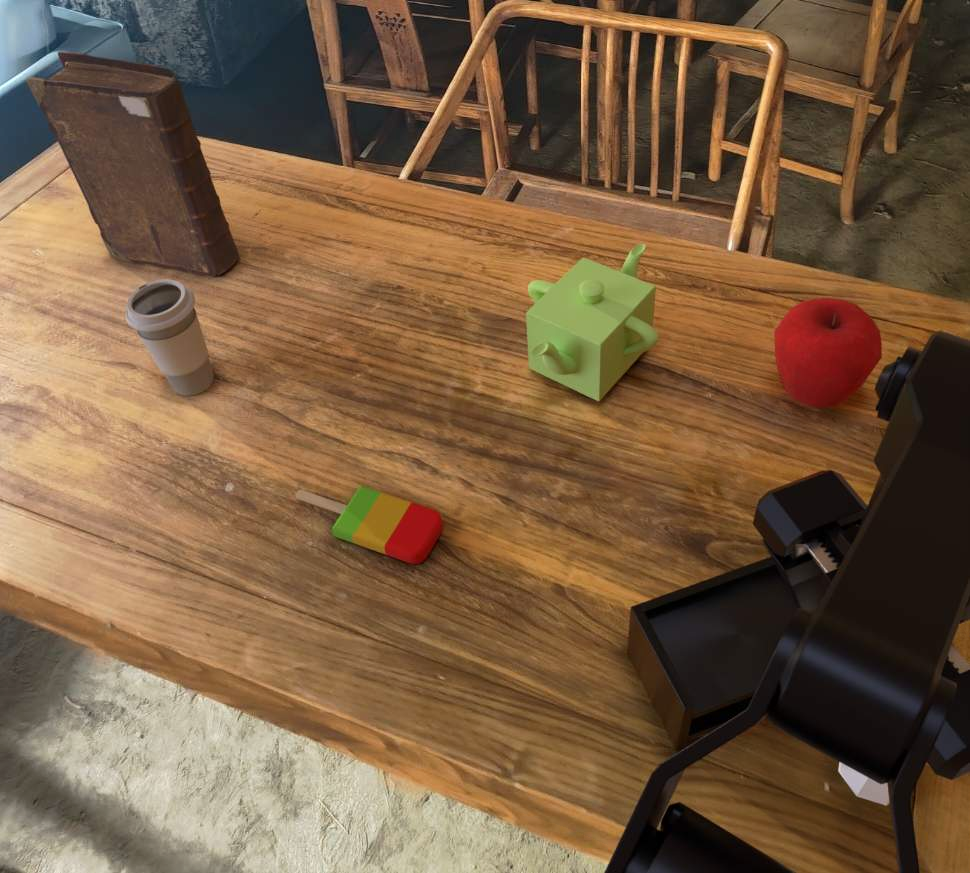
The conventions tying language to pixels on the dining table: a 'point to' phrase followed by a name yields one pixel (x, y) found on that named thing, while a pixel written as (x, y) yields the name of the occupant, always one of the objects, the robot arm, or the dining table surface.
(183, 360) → the cup
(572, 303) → the teapot
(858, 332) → the apple
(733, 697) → the black open box
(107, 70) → the book
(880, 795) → the salt shaker
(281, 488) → the dining table surface
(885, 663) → the robot arm
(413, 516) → the popsicle
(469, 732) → the dining table surface
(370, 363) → the dining table surface
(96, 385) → the dining table surface
